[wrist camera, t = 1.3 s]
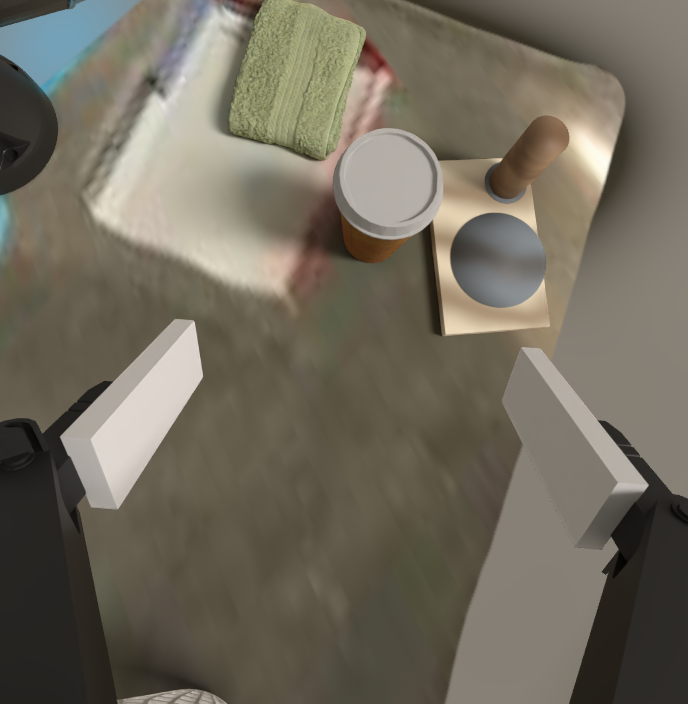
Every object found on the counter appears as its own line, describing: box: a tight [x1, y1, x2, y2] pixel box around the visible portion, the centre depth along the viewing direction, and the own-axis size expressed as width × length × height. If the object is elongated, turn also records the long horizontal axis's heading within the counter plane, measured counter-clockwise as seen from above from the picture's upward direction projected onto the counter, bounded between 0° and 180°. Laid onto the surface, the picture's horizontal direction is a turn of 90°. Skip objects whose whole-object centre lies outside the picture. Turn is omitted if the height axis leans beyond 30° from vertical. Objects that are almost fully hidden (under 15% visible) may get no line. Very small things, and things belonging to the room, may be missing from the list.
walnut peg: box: [489, 116, 569, 199], centre depth 39 cm, size 4×4×8 cm
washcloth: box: [228, 0, 366, 160], centre depth 43 cm, size 13×18×3 cm
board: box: [430, 158, 550, 336], centre depth 43 cm, size 20×12×1 cm, turn 5°
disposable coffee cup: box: [333, 128, 443, 263], centre depth 37 cm, size 10×10×12 cm
